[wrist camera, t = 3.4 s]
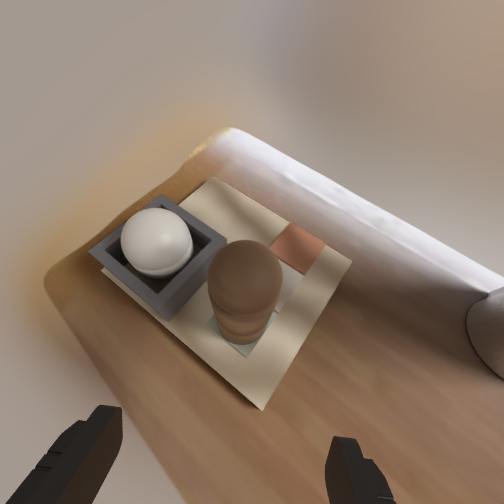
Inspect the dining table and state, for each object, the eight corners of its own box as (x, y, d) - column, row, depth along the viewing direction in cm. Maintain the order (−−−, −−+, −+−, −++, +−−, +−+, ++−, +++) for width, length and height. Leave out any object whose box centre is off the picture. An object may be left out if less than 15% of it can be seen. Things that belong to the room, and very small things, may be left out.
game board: (214, 183, 35) (213, 174, 33) (347, 266, 29) (353, 260, 28) (107, 276, 27) (99, 269, 26) (260, 409, 22) (262, 411, 20)
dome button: (166, 222, 27) (149, 183, 22) (207, 252, 26) (200, 217, 20) (122, 260, 25) (91, 226, 19) (164, 295, 23) (144, 268, 18)
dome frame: (170, 216, 30) (161, 193, 26) (227, 257, 27) (226, 238, 24) (107, 269, 26) (87, 251, 22) (168, 322, 24) (156, 310, 20)
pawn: (238, 286, 26) (238, 209, 15) (275, 314, 24) (307, 253, 13) (207, 323, 24) (181, 266, 13) (246, 356, 22) (255, 324, 11)
